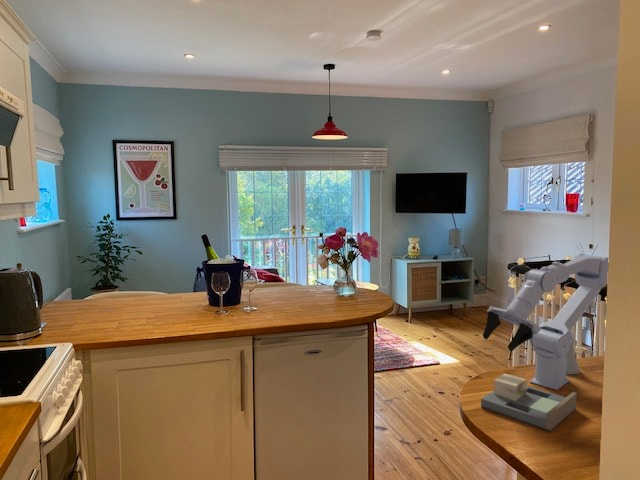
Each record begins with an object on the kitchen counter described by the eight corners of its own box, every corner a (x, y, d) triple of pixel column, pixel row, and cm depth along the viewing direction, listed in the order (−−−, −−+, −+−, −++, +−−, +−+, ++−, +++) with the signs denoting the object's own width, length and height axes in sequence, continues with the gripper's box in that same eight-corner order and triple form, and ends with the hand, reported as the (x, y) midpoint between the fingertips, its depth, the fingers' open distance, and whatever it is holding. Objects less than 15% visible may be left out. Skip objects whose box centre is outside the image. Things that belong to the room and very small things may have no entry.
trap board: (509, 389, 138) (509, 374, 137) (576, 409, 125) (576, 393, 124) (481, 407, 127) (481, 391, 127) (550, 432, 114) (550, 414, 113)
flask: (583, 376, 145) (584, 344, 144) (557, 374, 147) (558, 343, 146) (576, 367, 152) (577, 336, 151) (552, 365, 154) (553, 335, 153)
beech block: (504, 387, 134) (505, 373, 133) (526, 393, 129) (526, 379, 129) (494, 393, 130) (494, 379, 129) (515, 400, 125) (515, 386, 125)
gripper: (496, 288, 136) (469, 324, 132) (545, 306, 125) (518, 347, 121) (502, 302, 140) (476, 338, 136) (550, 320, 129) (524, 360, 125)
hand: (496, 343), depth 129 cm, fingers open, 7 cm apart
